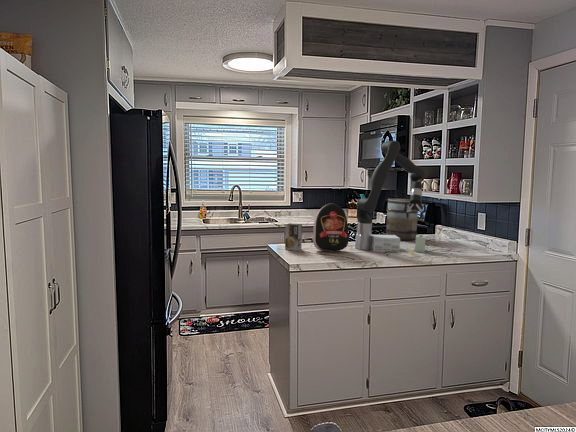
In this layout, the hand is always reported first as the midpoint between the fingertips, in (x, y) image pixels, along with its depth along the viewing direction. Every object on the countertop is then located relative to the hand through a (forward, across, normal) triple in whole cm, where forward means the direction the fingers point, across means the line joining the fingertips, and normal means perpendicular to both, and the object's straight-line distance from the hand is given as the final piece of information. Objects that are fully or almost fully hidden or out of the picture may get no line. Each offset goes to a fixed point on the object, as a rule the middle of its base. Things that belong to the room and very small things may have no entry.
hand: (414, 218), depth 285 cm
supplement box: (+25, -17, -6) cm, 31 cm away
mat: (+22, +4, +3) cm, 23 cm away
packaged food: (+35, -43, -31) cm, 64 cm away
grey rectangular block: (+22, +4, +3) cm, 23 cm away
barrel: (-1, -20, +42) cm, 46 cm away
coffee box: (+38, -64, -41) cm, 85 cm away
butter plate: (+29, +3, -10) cm, 31 cm away
